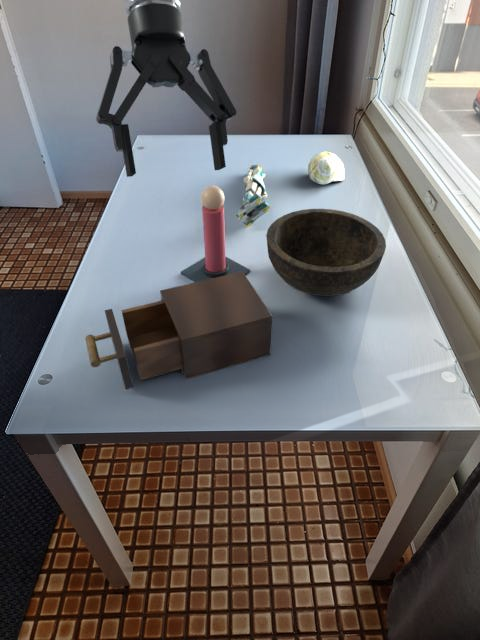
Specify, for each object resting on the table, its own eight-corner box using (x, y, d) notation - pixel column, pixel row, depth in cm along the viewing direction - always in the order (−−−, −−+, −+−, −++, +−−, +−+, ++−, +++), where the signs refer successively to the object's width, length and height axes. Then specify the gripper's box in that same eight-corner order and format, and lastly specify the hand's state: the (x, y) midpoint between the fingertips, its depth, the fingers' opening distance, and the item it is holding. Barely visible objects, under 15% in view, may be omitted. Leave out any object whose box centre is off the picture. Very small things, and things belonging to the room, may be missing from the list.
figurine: (254, 192, 101) (260, 146, 125) (227, 216, 105) (238, 167, 129) (276, 215, 104) (278, 166, 128) (249, 237, 108) (256, 186, 132)
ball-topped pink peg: (207, 280, 93) (202, 196, 81) (199, 266, 96) (193, 183, 84) (232, 274, 94) (231, 191, 82) (223, 260, 98) (221, 178, 86)
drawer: (99, 397, 71) (89, 366, 66) (88, 346, 79) (79, 316, 74) (209, 365, 76) (207, 334, 71) (189, 321, 83) (186, 290, 79)
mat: (180, 273, 95) (180, 271, 95) (215, 253, 101) (215, 251, 101) (215, 294, 90) (215, 292, 90) (250, 272, 96) (250, 269, 95)
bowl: (343, 242, 104) (350, 201, 97) (397, 303, 89) (410, 258, 82) (249, 261, 99) (250, 218, 92) (290, 328, 83) (294, 282, 77)
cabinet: (185, 379, 75) (181, 340, 69) (165, 328, 83) (159, 290, 78) (270, 355, 79) (272, 316, 73) (242, 309, 87) (242, 271, 82)
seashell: (342, 167, 131) (350, 141, 122) (342, 196, 128) (351, 172, 119) (305, 164, 131) (311, 138, 122) (304, 193, 128) (310, 169, 119)
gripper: (226, 29, 74) (243, 170, 78) (57, 21, 64) (87, 182, 68) (246, 6, 67) (264, 161, 71) (61, -8, 57) (93, 173, 61)
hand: (177, 172), depth 69 cm, fingers open, 13 cm apart
